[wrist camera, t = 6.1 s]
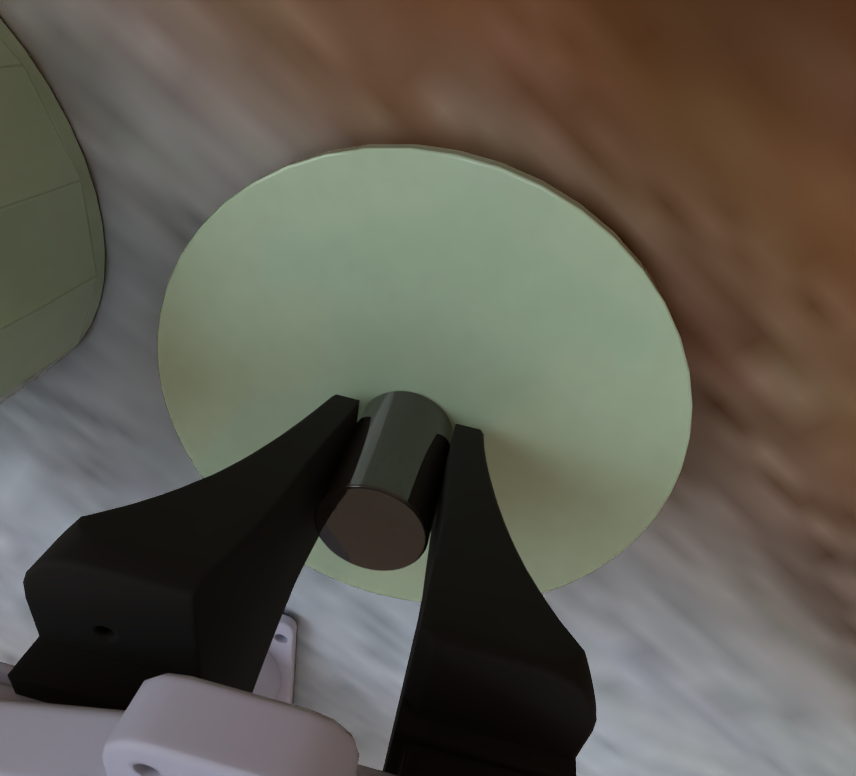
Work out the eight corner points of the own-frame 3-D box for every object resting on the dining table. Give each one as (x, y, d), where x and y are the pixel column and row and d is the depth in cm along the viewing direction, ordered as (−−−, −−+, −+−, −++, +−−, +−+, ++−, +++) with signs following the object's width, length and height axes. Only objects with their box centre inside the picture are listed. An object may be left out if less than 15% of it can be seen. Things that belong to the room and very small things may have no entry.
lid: (794, 213, 12) (912, 312, 8) (585, 619, 19) (592, 771, 15) (155, 79, 12) (-23, 106, 9) (195, 517, 20) (108, 636, 16)
